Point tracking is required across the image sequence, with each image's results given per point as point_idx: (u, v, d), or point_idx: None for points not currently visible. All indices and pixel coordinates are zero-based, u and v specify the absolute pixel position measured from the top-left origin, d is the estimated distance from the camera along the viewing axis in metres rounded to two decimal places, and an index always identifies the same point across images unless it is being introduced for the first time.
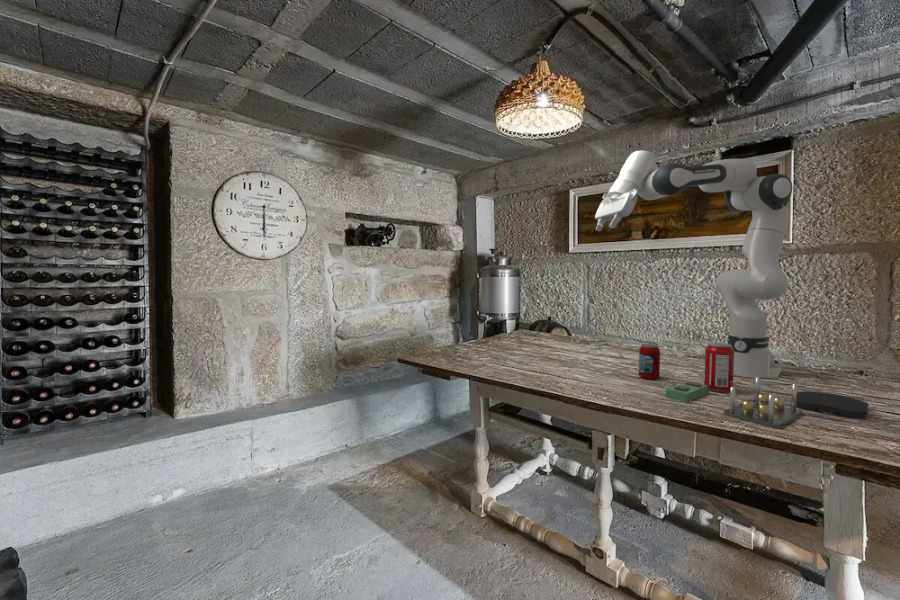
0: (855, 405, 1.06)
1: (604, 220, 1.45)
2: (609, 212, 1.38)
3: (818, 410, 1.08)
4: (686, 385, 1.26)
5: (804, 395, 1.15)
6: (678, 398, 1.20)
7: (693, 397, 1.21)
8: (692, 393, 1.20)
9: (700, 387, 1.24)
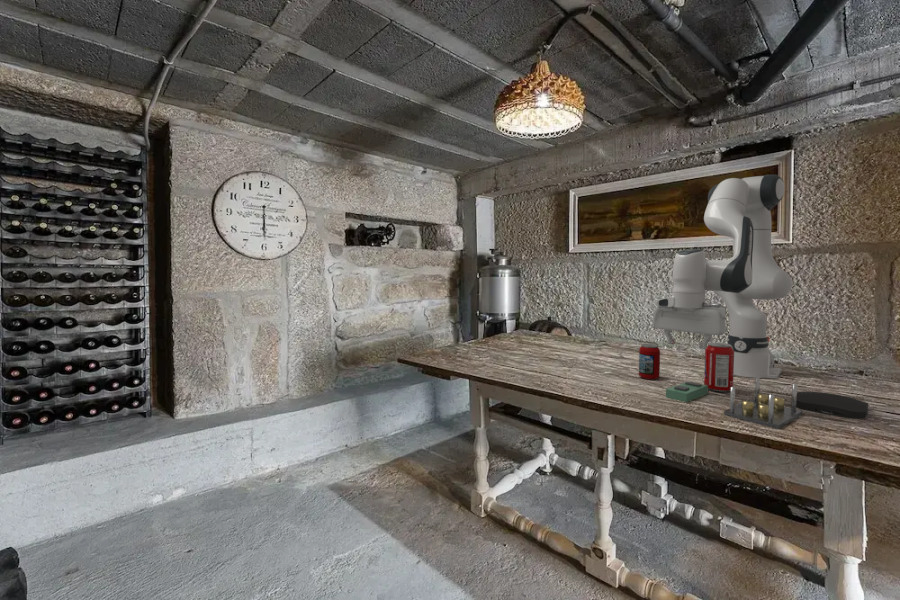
0: (855, 405, 1.06)
1: (671, 330, 1.28)
2: (689, 330, 1.21)
3: (818, 410, 1.08)
4: (686, 385, 1.26)
5: (804, 395, 1.15)
6: (678, 398, 1.20)
7: (693, 397, 1.21)
8: (692, 393, 1.20)
9: (700, 387, 1.24)
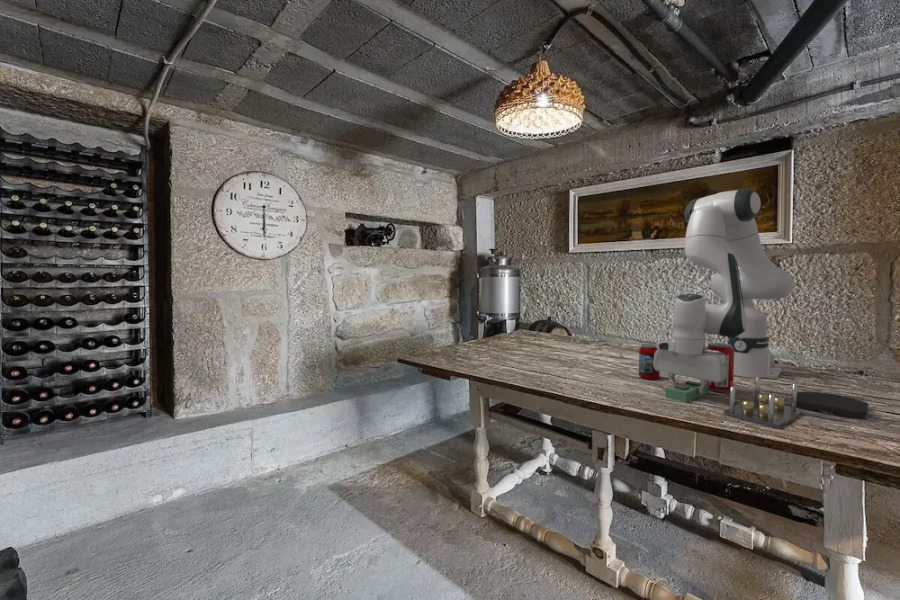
0: (855, 405, 1.06)
1: None
2: (690, 375, 1.22)
3: (818, 410, 1.08)
4: (686, 384, 1.26)
5: (804, 395, 1.15)
6: (678, 397, 1.20)
7: (693, 396, 1.21)
8: (692, 392, 1.20)
9: None
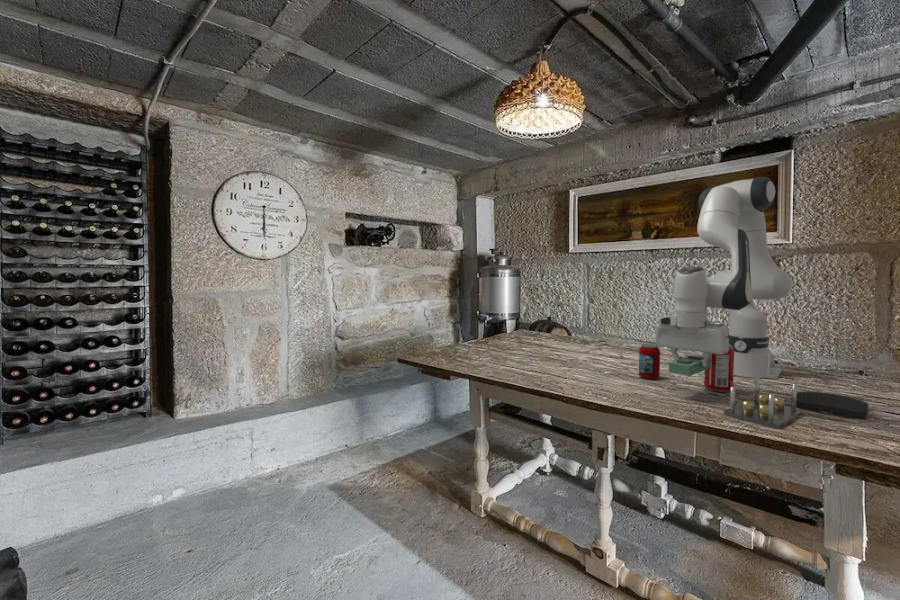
0: (855, 405, 1.06)
1: (677, 348, 1.27)
2: (692, 348, 1.21)
3: (818, 410, 1.08)
4: (689, 358, 1.26)
5: (804, 395, 1.15)
6: (681, 371, 1.19)
7: (696, 369, 1.20)
8: (695, 365, 1.20)
9: None
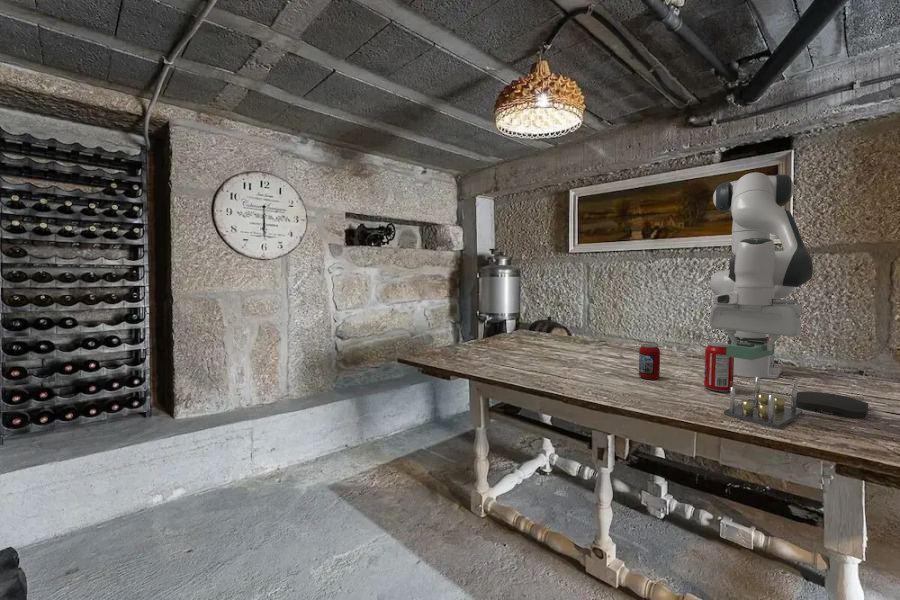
0: (855, 405, 1.06)
1: (735, 330, 1.12)
2: (756, 330, 1.06)
3: (818, 410, 1.08)
4: (749, 343, 1.10)
5: (804, 395, 1.15)
6: (742, 354, 1.04)
7: (759, 354, 1.05)
8: (759, 349, 1.04)
9: None
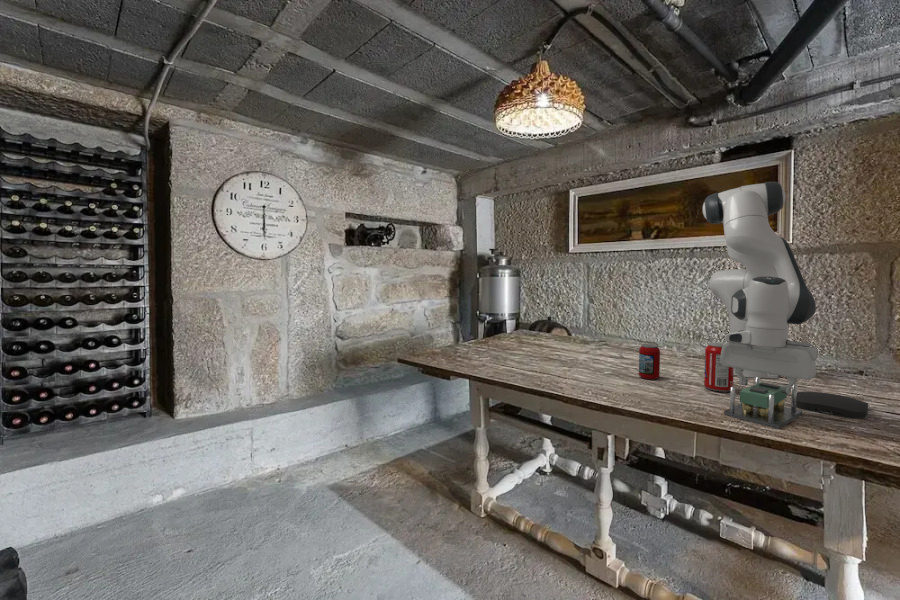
0: (855, 405, 1.06)
1: (743, 368, 1.11)
2: (769, 371, 1.04)
3: (818, 410, 1.08)
4: (761, 386, 1.09)
5: (804, 395, 1.15)
6: (756, 402, 1.02)
7: None
8: None
9: (779, 389, 1.06)
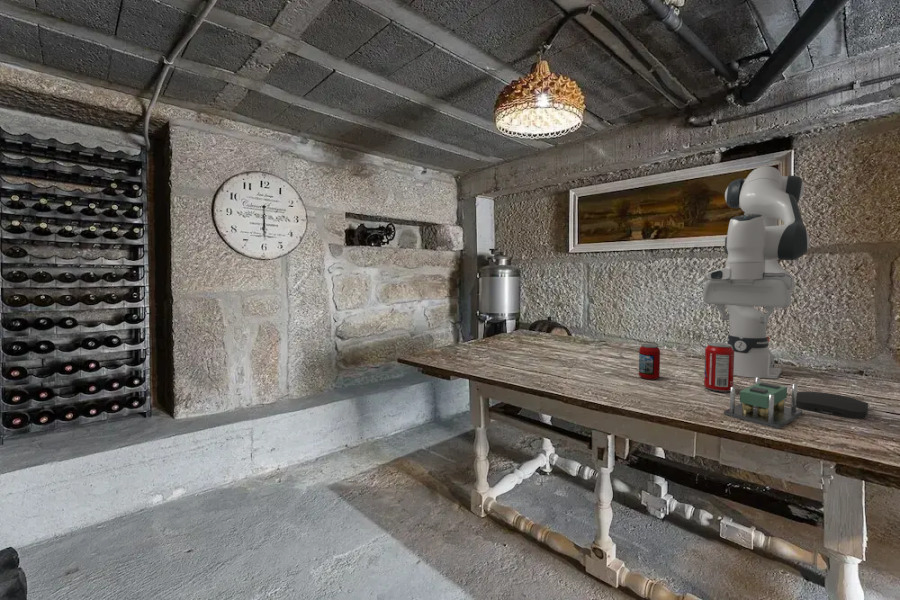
0: (855, 405, 1.06)
1: (724, 304, 1.17)
2: (748, 303, 1.10)
3: (818, 410, 1.08)
4: (761, 386, 1.09)
5: (804, 395, 1.15)
6: (756, 402, 1.02)
7: None
8: None
9: (779, 389, 1.06)
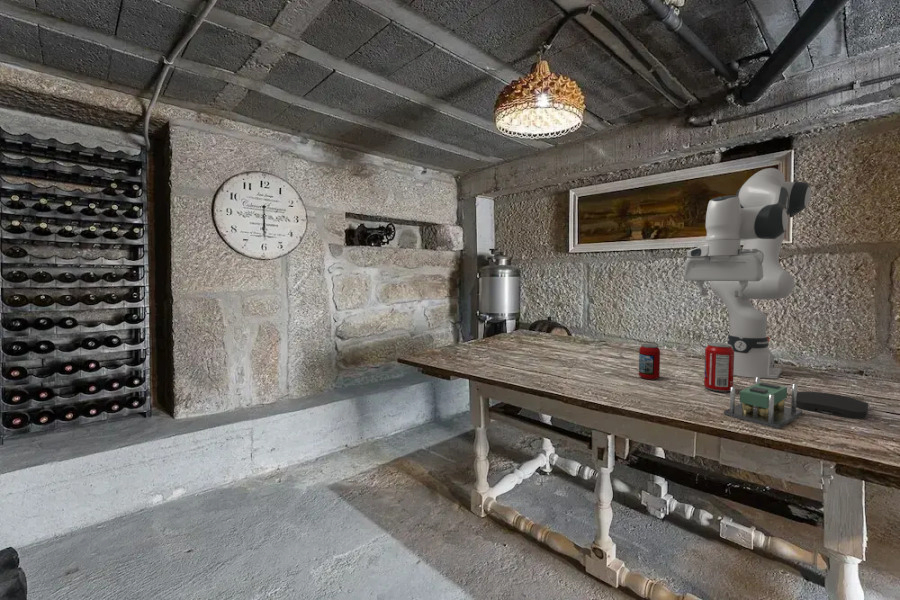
0: (855, 405, 1.06)
1: (703, 281, 1.25)
2: (724, 278, 1.18)
3: (818, 410, 1.08)
4: (761, 386, 1.09)
5: (804, 395, 1.15)
6: (756, 402, 1.02)
7: None
8: None
9: (779, 389, 1.06)
